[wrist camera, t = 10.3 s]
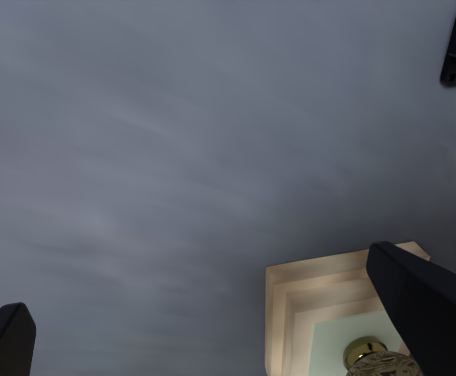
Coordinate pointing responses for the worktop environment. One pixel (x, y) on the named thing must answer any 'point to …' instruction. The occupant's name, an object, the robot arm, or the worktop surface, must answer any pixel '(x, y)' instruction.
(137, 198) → the worktop surface
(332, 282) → the oak plinth
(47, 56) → the worktop surface
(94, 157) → the worktop surface
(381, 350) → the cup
